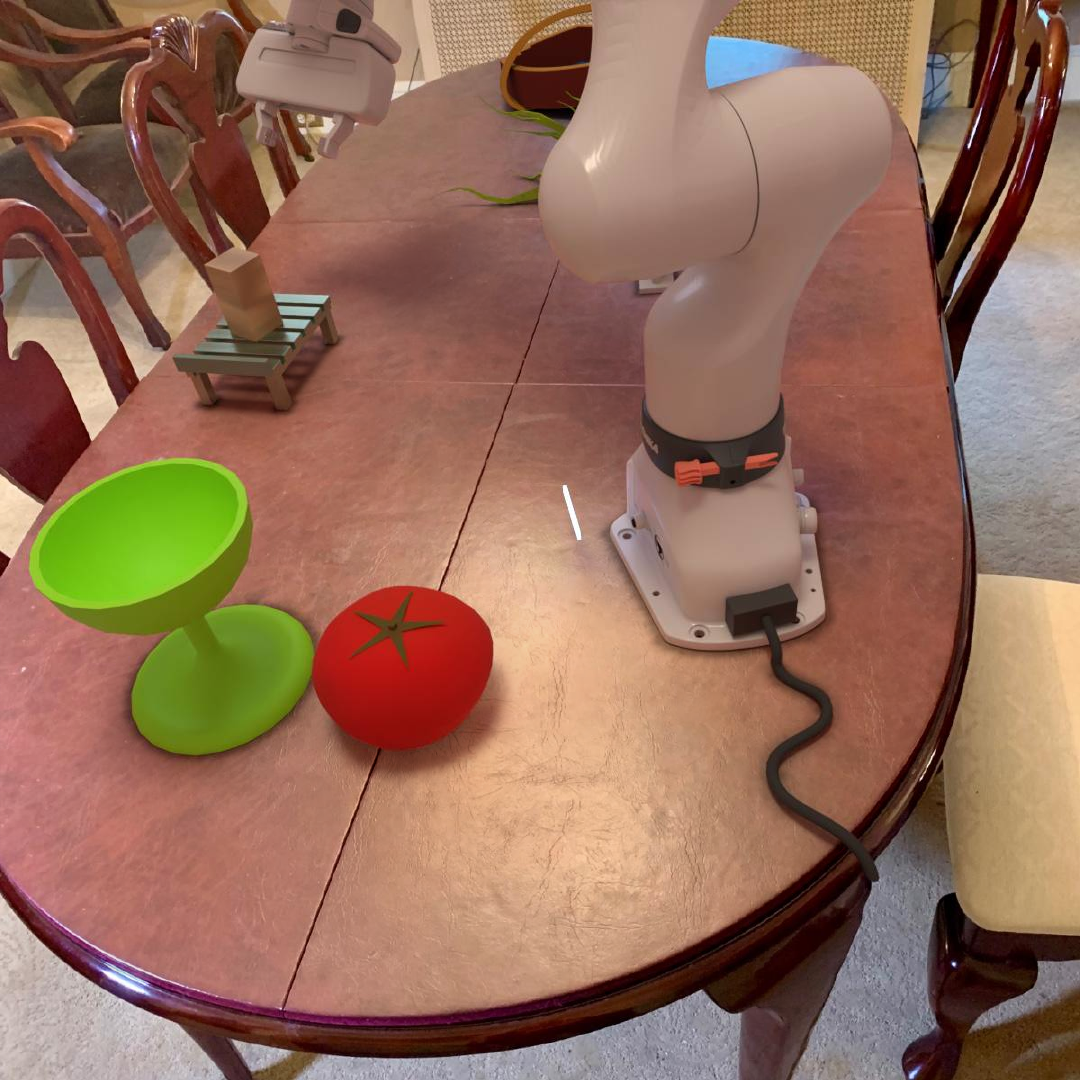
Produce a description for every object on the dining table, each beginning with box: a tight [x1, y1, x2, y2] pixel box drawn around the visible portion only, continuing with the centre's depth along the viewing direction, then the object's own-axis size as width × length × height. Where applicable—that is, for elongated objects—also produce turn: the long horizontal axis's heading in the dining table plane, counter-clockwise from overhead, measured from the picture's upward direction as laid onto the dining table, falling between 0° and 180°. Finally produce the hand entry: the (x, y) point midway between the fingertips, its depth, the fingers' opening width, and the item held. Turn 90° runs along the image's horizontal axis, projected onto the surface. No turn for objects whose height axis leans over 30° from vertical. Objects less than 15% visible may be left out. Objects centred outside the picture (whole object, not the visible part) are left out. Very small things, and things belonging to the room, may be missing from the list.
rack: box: [171, 293, 340, 411], centre depth 113 cm, size 17×12×8 cm
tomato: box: [311, 585, 495, 752], centre depth 74 cm, size 14×13×10 cm
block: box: [203, 246, 283, 342], centre depth 109 cm, size 4×4×9 cm
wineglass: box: [28, 457, 315, 756], centre depth 76 cm, size 16×16×18 cm
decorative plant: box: [430, 91, 580, 205], centre depth 138 cm, size 18×30×15 cm, turn 61°
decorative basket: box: [499, 3, 593, 111], centre depth 166 cm, size 34×29×15 cm
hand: (294, 150), depth 107 cm, fingers open, 8 cm apart
